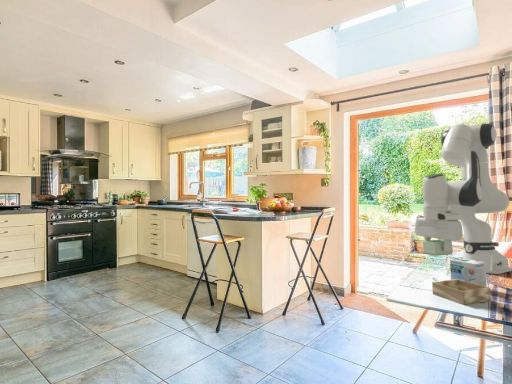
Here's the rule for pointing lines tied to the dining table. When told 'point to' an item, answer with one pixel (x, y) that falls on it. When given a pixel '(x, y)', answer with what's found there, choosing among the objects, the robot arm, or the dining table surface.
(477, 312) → the dining table surface
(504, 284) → the dining table surface
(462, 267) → the light bulb box
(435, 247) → the green crate
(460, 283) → the birch crate
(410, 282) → the dining table surface
